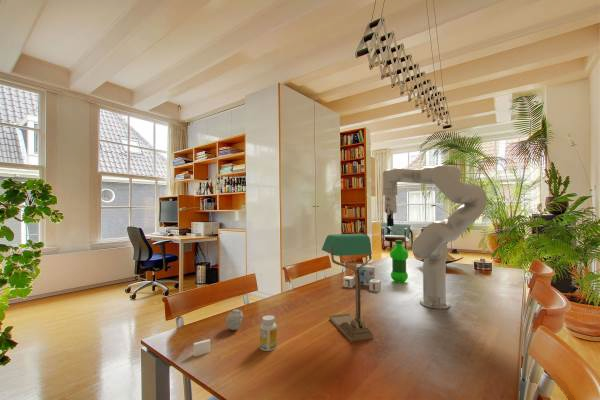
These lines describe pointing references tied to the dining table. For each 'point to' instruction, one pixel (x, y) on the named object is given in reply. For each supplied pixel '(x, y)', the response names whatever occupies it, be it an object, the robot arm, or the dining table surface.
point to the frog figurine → (234, 319)
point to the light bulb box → (366, 273)
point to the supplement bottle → (268, 333)
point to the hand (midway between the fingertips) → (390, 226)
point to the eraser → (202, 347)
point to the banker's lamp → (355, 246)
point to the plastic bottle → (399, 262)
